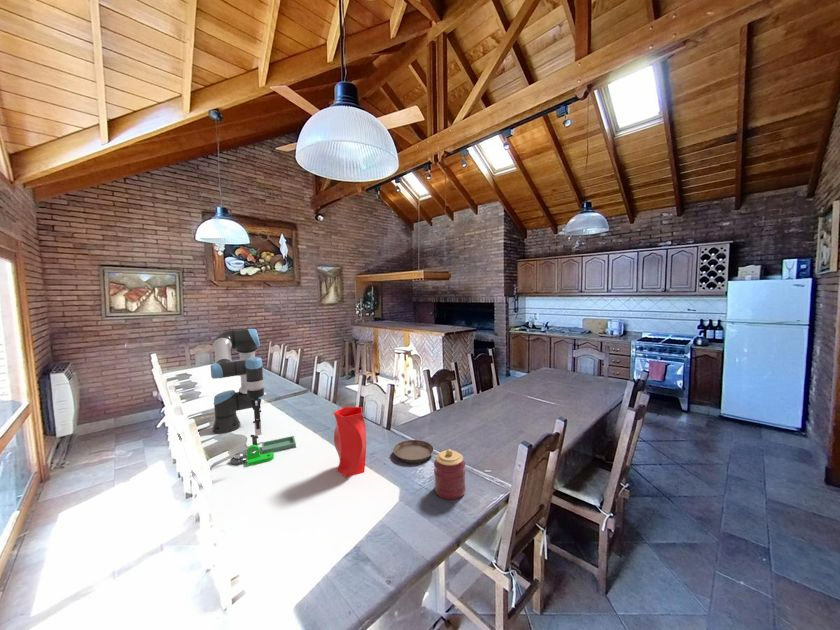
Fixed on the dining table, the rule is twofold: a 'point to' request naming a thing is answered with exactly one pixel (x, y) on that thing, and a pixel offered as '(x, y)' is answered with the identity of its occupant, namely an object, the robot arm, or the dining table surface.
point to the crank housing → (240, 461)
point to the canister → (449, 474)
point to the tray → (278, 445)
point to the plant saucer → (413, 451)
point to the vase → (350, 440)
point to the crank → (244, 453)
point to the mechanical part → (258, 456)
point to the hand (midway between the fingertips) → (258, 430)
